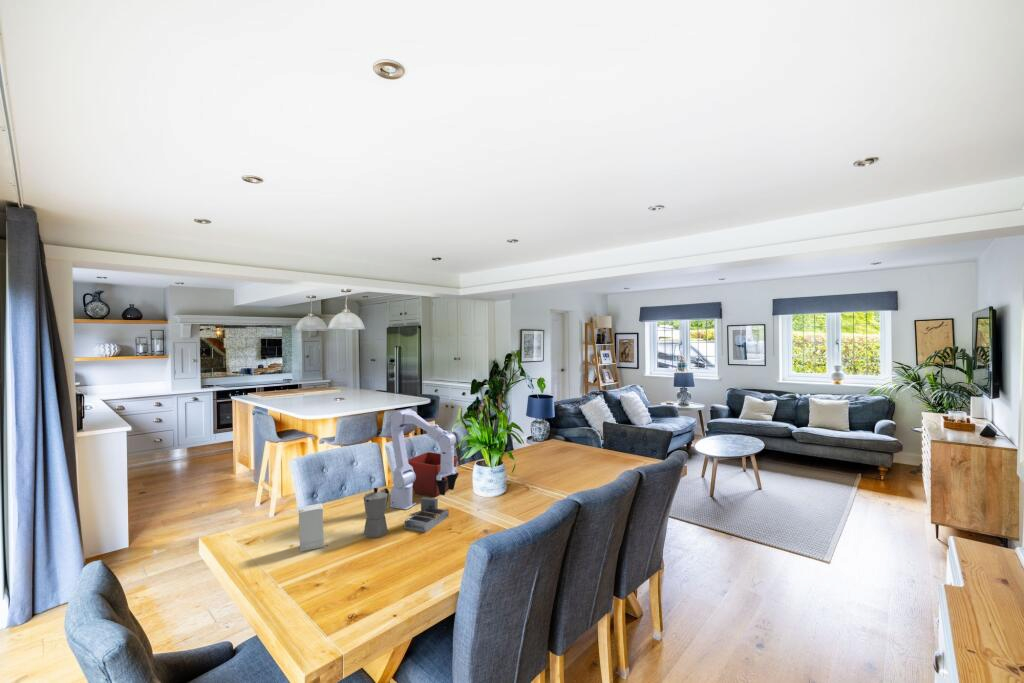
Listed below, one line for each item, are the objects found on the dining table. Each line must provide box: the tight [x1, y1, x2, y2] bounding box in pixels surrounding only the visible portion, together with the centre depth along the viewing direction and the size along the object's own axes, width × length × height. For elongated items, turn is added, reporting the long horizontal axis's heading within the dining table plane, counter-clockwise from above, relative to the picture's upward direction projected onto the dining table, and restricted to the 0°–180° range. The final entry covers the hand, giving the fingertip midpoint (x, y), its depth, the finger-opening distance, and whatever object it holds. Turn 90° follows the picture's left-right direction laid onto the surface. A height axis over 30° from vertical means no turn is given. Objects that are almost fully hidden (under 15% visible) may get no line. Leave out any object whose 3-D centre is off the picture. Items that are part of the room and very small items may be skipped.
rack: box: [404, 506, 450, 534], centre depth 193 cm, size 10×18×4 cm, turn 158°
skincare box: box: [298, 503, 325, 552], centre depth 170 cm, size 8×6×15 cm
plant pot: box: [408, 451, 458, 498], centre depth 232 cm, size 19×19×17 cm
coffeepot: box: [363, 487, 390, 539], centre depth 183 cm, size 15×9×18 cm, turn 162°
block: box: [420, 496, 439, 511], centre depth 205 cm, size 7×2×6 cm, turn 69°
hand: (446, 492), depth 203 cm, fingers open, 7 cm apart
